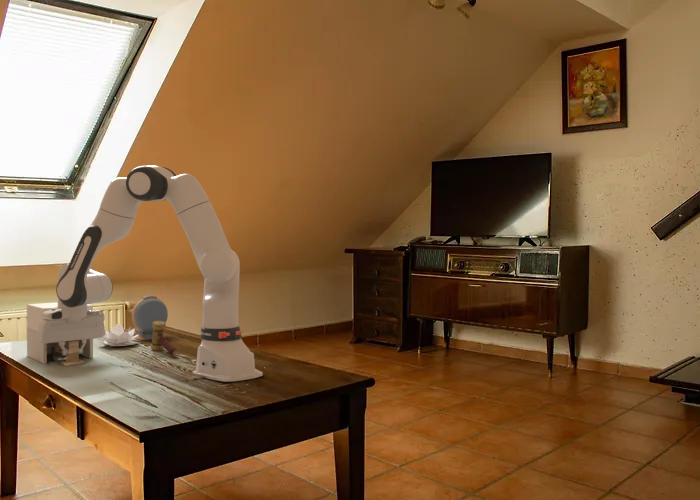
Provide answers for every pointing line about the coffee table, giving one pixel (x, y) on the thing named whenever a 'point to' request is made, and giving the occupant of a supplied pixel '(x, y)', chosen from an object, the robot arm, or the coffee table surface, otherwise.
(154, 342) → the gavel
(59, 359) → the disc
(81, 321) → the robot arm
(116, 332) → the lotus flower
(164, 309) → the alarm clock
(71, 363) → the hook tool
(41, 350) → the cabinet
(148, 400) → the coffee table surface
